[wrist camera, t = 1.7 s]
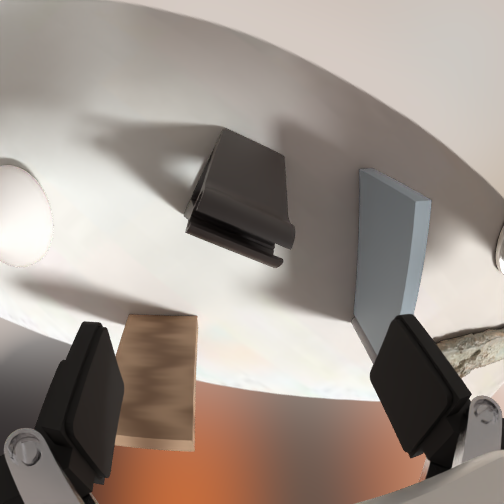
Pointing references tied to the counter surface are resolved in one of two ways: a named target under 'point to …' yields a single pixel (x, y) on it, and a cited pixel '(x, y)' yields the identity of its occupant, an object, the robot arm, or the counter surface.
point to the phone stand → (242, 200)
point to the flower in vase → (23, 218)
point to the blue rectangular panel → (387, 254)
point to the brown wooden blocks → (158, 382)
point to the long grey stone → (473, 350)
